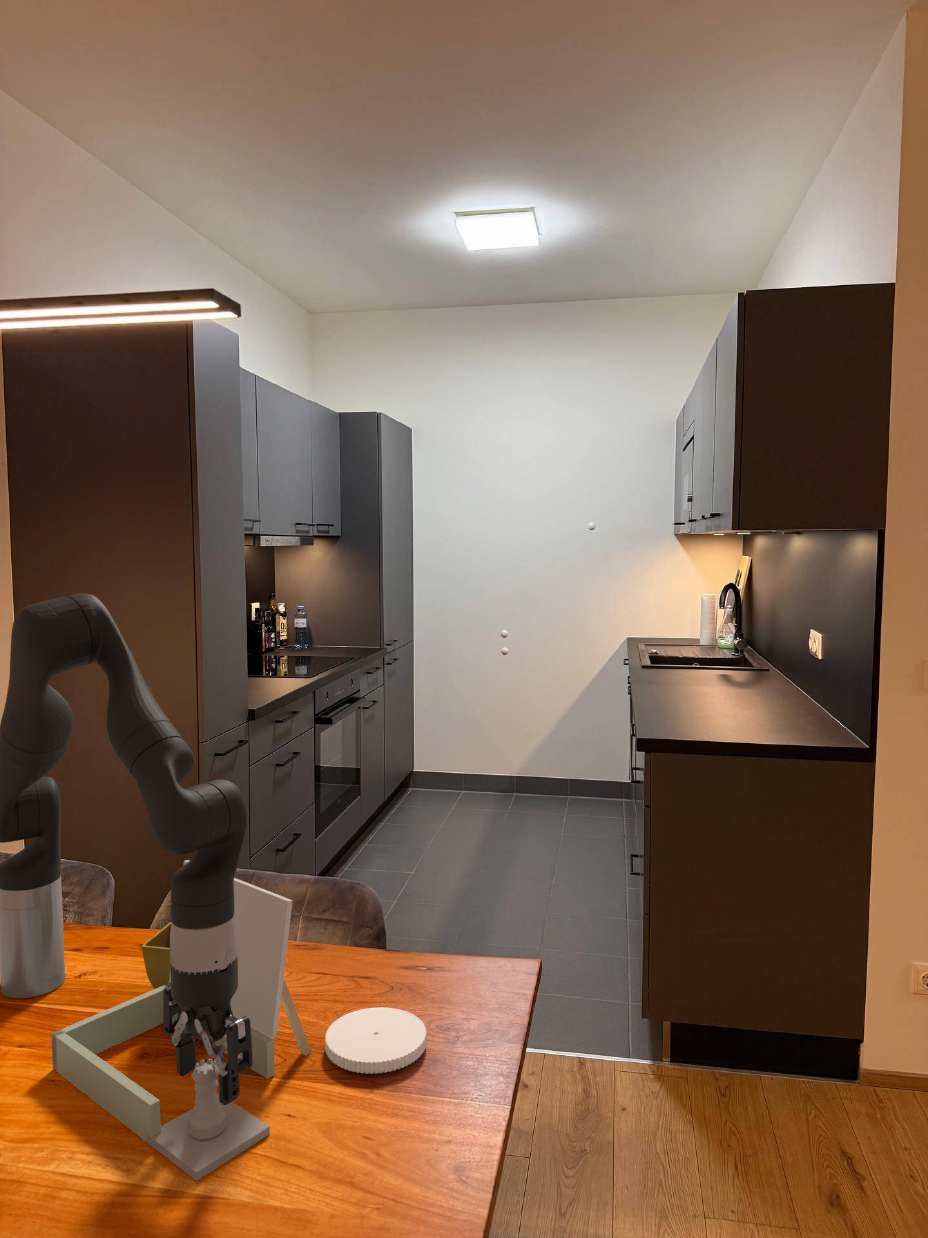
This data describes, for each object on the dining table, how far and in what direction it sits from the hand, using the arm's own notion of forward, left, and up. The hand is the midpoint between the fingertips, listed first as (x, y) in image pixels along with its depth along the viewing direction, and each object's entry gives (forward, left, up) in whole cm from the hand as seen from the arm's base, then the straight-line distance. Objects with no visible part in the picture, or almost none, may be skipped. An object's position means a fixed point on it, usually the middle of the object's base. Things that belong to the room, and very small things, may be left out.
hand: (207, 1086), depth 104 cm
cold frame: (-16, +7, -6) cm, 19 cm away
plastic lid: (+2, +26, -7) cm, 27 cm away
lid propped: (-16, +14, -1) cm, 21 cm away
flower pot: (-33, +18, -7) cm, 38 cm away
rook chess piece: (0, 0, -6) cm, 6 cm away
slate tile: (0, 0, -6) cm, 6 cm away
